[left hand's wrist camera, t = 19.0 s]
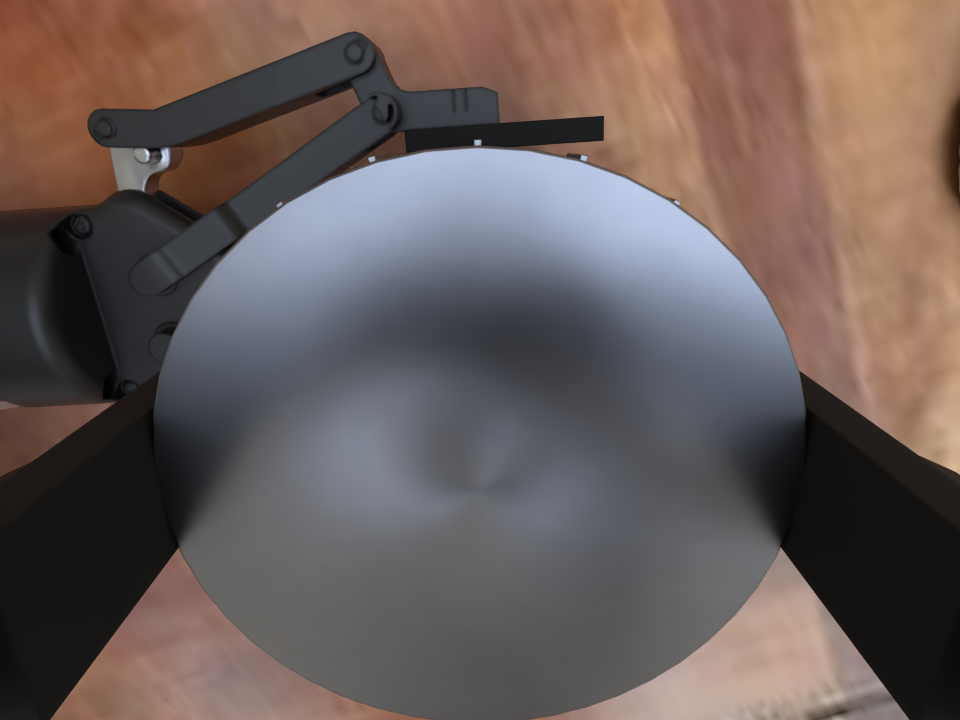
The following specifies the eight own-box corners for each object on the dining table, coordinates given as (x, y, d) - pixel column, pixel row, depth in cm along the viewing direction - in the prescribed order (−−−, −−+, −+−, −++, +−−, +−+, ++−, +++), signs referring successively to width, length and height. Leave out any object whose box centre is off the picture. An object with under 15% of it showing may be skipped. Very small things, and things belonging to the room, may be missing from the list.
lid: (802, 138, 10) (878, 136, 8) (715, 644, 14) (754, 725, 12) (154, 141, 10) (77, 141, 8) (246, 646, 14) (208, 728, 12)
